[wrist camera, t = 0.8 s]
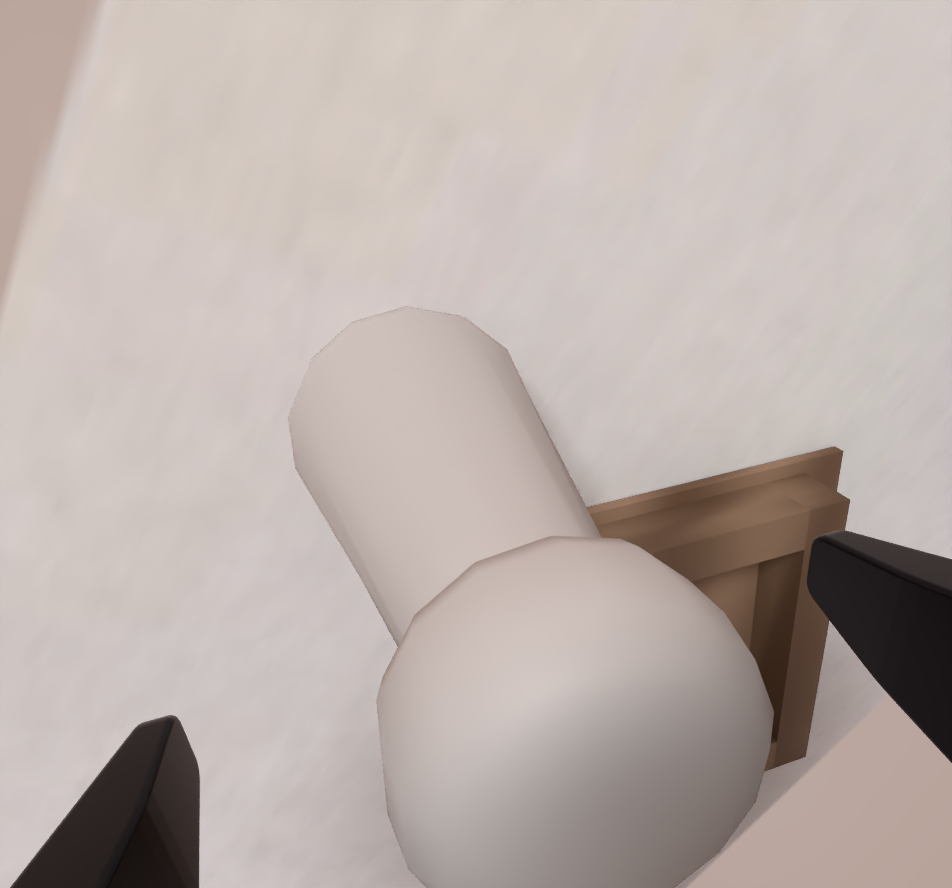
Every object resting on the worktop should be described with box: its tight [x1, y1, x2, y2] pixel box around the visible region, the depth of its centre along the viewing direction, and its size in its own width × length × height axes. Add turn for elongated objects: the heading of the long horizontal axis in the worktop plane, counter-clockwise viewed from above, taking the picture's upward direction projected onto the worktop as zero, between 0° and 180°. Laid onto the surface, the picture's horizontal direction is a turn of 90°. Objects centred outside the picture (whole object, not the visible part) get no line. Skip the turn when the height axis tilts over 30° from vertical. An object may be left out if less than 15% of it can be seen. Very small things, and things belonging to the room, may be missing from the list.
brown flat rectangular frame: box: [587, 447, 850, 771], centre depth 23 cm, size 15×13×2 cm
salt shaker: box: [288, 307, 774, 888], centre depth 12 cm, size 6×6×13 cm
